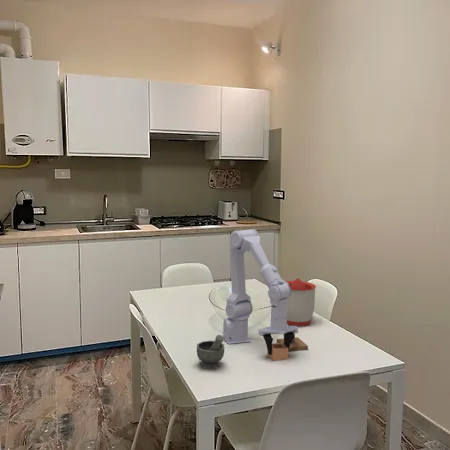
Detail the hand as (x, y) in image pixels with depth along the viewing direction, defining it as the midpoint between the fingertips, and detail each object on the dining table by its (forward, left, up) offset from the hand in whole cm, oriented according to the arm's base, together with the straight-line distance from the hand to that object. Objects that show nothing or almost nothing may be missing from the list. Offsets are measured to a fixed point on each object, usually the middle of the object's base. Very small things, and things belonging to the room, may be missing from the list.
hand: (277, 353), depth 165 cm
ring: (0, 0, -1) cm, 1 cm away
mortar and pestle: (-25, -2, -2) cm, 25 cm away
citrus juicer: (+21, +33, -2) cm, 39 cm away
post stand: (+9, +8, -1) cm, 12 cm away
